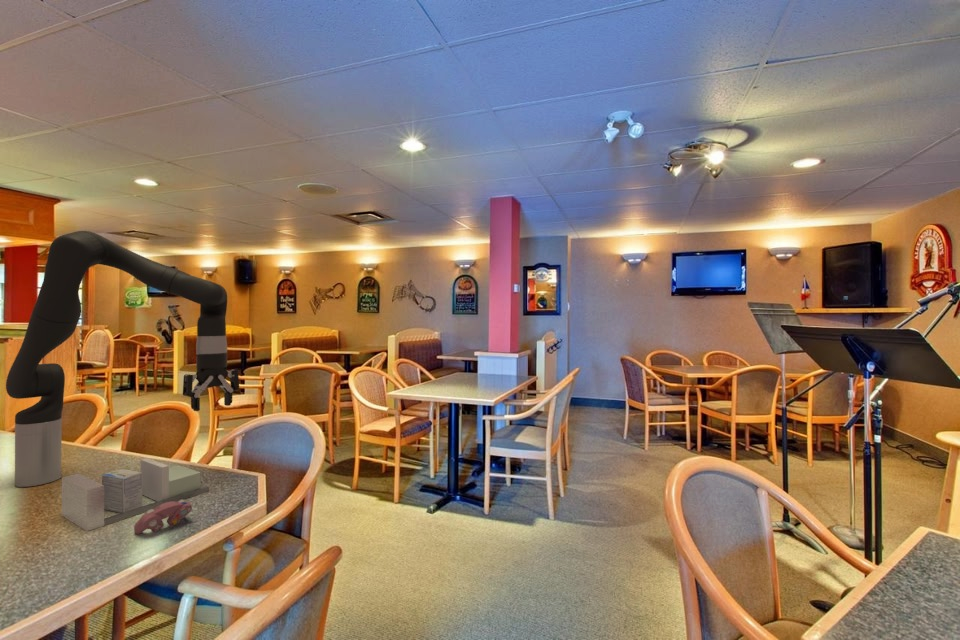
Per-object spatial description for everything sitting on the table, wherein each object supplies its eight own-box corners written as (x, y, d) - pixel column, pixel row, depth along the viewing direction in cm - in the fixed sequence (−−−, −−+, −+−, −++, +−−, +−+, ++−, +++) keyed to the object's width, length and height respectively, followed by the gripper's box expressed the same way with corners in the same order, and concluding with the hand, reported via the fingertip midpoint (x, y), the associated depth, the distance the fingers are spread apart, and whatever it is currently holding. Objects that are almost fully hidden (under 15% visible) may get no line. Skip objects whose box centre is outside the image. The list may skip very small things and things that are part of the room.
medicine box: (143, 507, 106) (143, 471, 106) (123, 514, 102) (123, 478, 102) (121, 502, 108) (121, 468, 108) (101, 509, 104) (101, 474, 104)
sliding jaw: (140, 493, 113) (140, 459, 113) (178, 482, 121) (178, 450, 121) (162, 503, 107) (162, 467, 107) (200, 491, 115) (200, 457, 115)
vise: (61, 515, 101) (61, 477, 101) (181, 480, 123) (181, 449, 123) (86, 531, 94) (87, 490, 94) (209, 491, 116) (209, 457, 116)
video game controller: (138, 545, 91) (145, 519, 89) (130, 530, 93) (137, 505, 91) (190, 526, 99) (197, 502, 98) (181, 513, 101) (188, 489, 100)
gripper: (229, 349, 131) (230, 402, 131) (177, 353, 119) (178, 411, 119) (243, 350, 128) (244, 405, 127) (191, 353, 115) (191, 414, 115)
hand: (212, 408), depth 123 cm, fingers open, 8 cm apart
